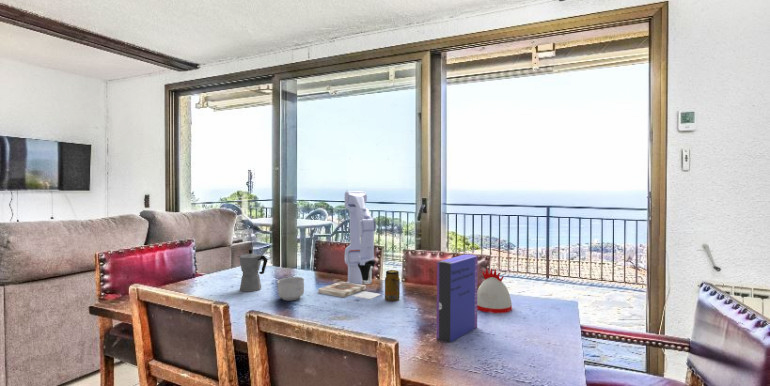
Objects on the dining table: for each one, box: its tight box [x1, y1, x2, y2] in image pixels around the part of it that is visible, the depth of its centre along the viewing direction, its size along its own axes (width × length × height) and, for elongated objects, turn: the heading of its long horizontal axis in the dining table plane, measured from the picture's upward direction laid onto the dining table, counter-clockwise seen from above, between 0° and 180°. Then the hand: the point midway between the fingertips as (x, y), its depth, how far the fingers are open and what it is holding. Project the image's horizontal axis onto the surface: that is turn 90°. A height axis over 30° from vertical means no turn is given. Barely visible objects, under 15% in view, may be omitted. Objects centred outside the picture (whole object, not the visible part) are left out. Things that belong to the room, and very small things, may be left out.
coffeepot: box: [237, 249, 268, 293], centre depth 185 cm, size 15×9×18 cm, turn 70°
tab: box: [352, 290, 382, 300], centre depth 175 cm, size 9×9×1 cm
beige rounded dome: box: [477, 268, 513, 314], centre depth 159 cm, size 14×14×15 cm
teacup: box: [276, 276, 305, 302], centre depth 172 cm, size 14×11×8 cm
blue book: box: [436, 254, 479, 344], centre depth 132 cm, size 17×5×24 cm, turn 141°
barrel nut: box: [362, 266, 374, 285], centre depth 175 cm, size 5×5×7 cm
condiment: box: [384, 269, 401, 302], centre depth 168 cm, size 7×8×12 cm
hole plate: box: [317, 281, 367, 298], centre depth 182 cm, size 16×14×2 cm
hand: (366, 278), depth 175 cm, fingers closed on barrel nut, 5 cm apart
